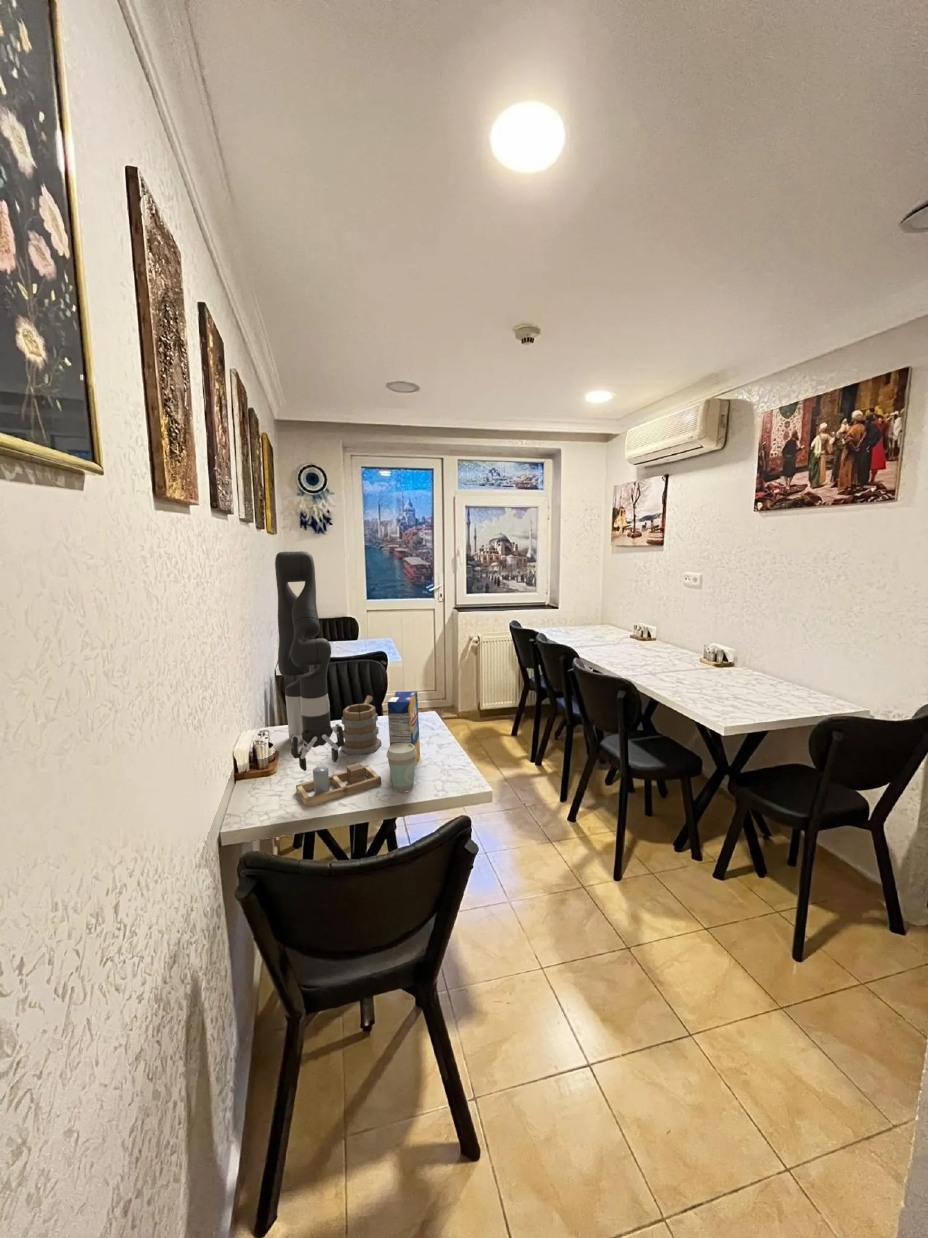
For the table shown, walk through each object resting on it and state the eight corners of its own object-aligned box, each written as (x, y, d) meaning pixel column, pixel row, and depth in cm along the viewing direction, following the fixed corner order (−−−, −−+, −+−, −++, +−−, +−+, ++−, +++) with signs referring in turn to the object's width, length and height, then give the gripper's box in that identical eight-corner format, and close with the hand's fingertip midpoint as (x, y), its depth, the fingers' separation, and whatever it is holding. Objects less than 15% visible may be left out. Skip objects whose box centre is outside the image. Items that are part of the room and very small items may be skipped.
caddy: (296, 792, 140) (295, 785, 140) (367, 771, 152) (367, 765, 152) (307, 807, 132) (306, 800, 132) (381, 784, 144) (381, 777, 143)
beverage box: (391, 770, 152) (387, 702, 149) (399, 755, 163) (396, 691, 160) (413, 771, 151) (409, 702, 148) (420, 756, 162) (417, 691, 159)
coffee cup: (405, 797, 135) (403, 756, 134) (382, 790, 140) (379, 750, 138) (424, 784, 142) (422, 745, 141) (401, 778, 147) (399, 739, 145)
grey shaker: (312, 793, 140) (310, 769, 139) (326, 788, 142) (324, 765, 141) (318, 798, 136) (316, 774, 135) (332, 793, 139) (330, 770, 138)
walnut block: (347, 782, 145) (346, 766, 145) (360, 778, 148) (359, 762, 147) (352, 787, 142) (351, 771, 141) (365, 783, 144) (364, 767, 144)
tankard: (372, 755, 164) (370, 712, 162) (337, 754, 166) (333, 711, 164) (391, 733, 183) (388, 694, 181) (358, 732, 185) (356, 693, 183)
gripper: (336, 701, 143) (339, 754, 145) (285, 712, 135) (290, 767, 138) (345, 708, 136) (348, 763, 139) (292, 720, 129) (297, 778, 131)
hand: (319, 765), depth 138 cm, fingers open, 8 cm apart
